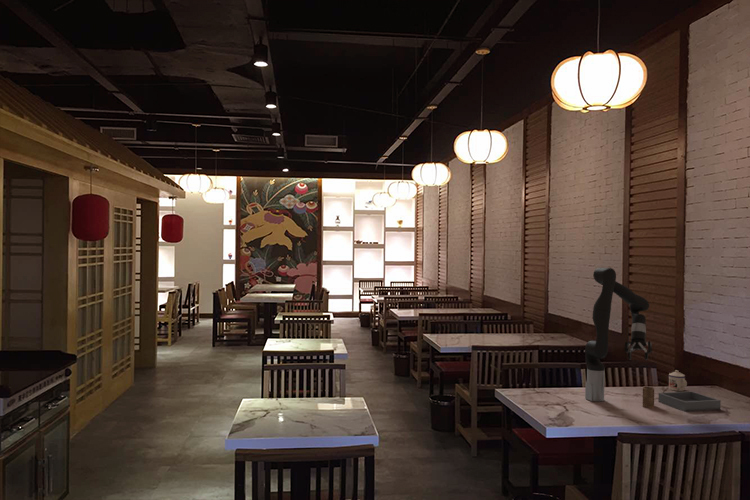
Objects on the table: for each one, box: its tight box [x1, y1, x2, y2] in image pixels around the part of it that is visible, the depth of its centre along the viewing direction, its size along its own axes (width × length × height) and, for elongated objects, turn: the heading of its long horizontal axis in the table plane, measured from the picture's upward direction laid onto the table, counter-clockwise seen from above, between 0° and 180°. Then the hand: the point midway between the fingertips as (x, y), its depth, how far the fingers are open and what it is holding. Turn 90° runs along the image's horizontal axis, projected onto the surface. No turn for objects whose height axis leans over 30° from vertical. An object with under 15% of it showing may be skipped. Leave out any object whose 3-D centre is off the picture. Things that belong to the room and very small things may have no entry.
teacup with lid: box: [668, 369, 688, 392], centre depth 344 cm, size 12×9×12 cm
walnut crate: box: [642, 386, 655, 409], centre depth 307 cm, size 6×6×10 cm
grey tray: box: [658, 390, 722, 413], centre depth 309 cm, size 22×20×5 cm
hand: (637, 359), depth 317 cm, fingers open, 8 cm apart
